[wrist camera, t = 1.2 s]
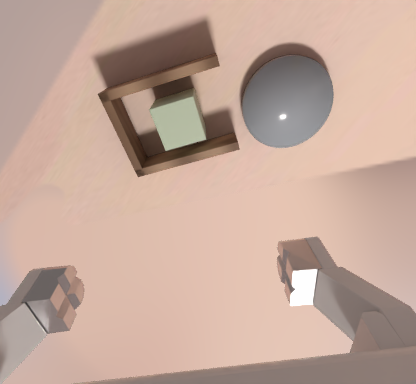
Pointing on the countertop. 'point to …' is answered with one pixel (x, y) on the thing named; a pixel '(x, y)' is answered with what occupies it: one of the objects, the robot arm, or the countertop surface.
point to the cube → (178, 119)
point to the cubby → (130, 138)
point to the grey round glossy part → (287, 101)
